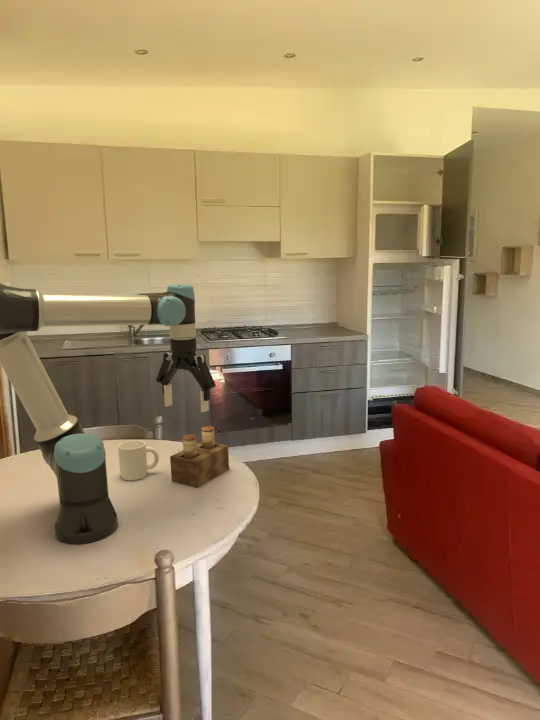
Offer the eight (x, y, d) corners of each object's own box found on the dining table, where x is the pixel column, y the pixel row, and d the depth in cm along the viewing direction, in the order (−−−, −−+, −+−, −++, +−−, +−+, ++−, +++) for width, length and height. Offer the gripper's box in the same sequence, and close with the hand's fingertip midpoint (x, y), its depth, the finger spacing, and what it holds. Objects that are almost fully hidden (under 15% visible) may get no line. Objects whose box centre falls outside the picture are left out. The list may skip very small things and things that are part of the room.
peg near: (191, 463, 164) (190, 439, 163) (181, 461, 166) (179, 437, 165) (200, 459, 167) (198, 435, 166) (189, 456, 169) (188, 433, 168)
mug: (159, 468, 178) (157, 437, 176) (160, 478, 170) (158, 446, 168) (120, 472, 176) (118, 441, 174) (120, 482, 168) (117, 450, 166)
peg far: (210, 453, 172) (209, 430, 170) (199, 451, 174) (198, 429, 172) (217, 449, 175) (216, 427, 173) (207, 447, 177) (206, 425, 176)
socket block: (197, 487, 162) (196, 462, 161) (171, 481, 168) (170, 456, 166) (229, 469, 176) (228, 445, 174) (204, 463, 181) (203, 440, 179)
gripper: (225, 338, 157) (228, 410, 161) (158, 333, 170) (162, 400, 174) (210, 342, 151) (213, 417, 155) (141, 337, 163) (146, 406, 167)
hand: (186, 408), depth 164 cm, fingers open, 13 cm apart
